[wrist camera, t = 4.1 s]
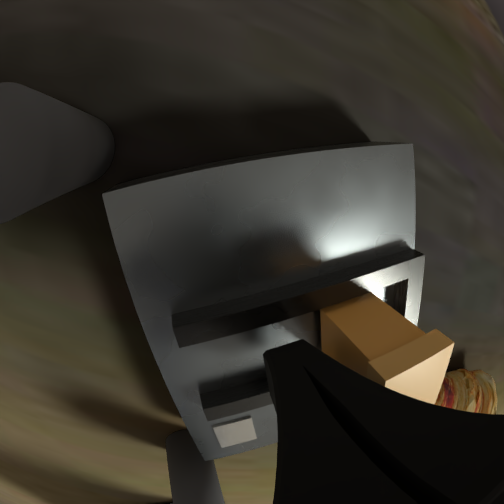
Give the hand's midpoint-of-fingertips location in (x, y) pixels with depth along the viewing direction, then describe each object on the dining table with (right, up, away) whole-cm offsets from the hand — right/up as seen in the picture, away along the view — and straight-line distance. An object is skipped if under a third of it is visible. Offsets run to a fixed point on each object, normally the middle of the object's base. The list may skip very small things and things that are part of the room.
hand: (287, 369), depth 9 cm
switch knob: (+2, +1, +2) cm, 3 cm away
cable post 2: (-5, -7, +5) cm, 10 cm away
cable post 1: (-7, +7, 0) cm, 10 cm away
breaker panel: (0, +1, +4) cm, 4 cm away
